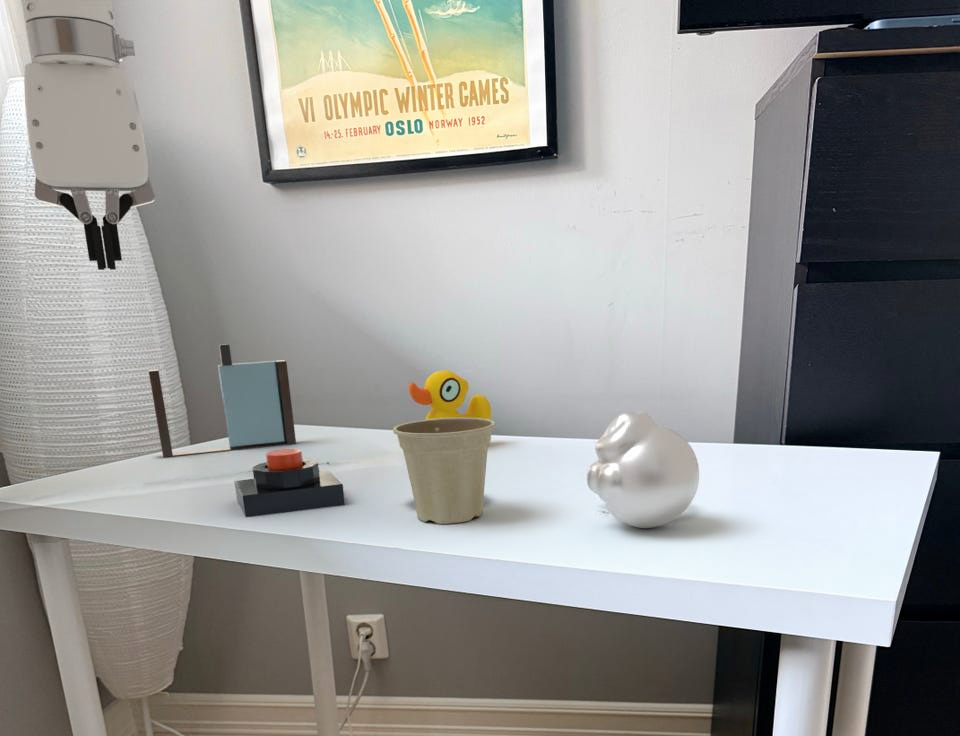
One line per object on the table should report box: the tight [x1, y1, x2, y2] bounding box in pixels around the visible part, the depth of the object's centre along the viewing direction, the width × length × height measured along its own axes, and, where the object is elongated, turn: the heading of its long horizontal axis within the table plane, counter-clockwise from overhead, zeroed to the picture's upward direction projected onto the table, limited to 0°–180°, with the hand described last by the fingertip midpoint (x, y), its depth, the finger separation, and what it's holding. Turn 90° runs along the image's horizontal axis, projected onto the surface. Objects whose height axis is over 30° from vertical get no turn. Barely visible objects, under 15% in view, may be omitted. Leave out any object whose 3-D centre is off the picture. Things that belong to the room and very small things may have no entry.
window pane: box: [218, 343, 284, 447], centre depth 120 cm, size 7×1×13 cm, turn 110°
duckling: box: [408, 369, 492, 420], centre depth 121 cm, size 11×5×10 cm, turn 119°
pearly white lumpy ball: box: [586, 411, 700, 529], centre depth 80 cm, size 9×9×10 cm
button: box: [265, 448, 303, 469], centre depth 95 cm, size 4×4×2 cm
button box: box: [233, 458, 346, 518], centre depth 96 cm, size 10×8×4 cm
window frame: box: [148, 359, 297, 459], centre depth 120 cm, size 17×2×12 cm, turn 110°
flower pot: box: [392, 418, 496, 525], centre depth 87 cm, size 9×9×9 cm
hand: (107, 269), depth 91 cm, fingers closed
